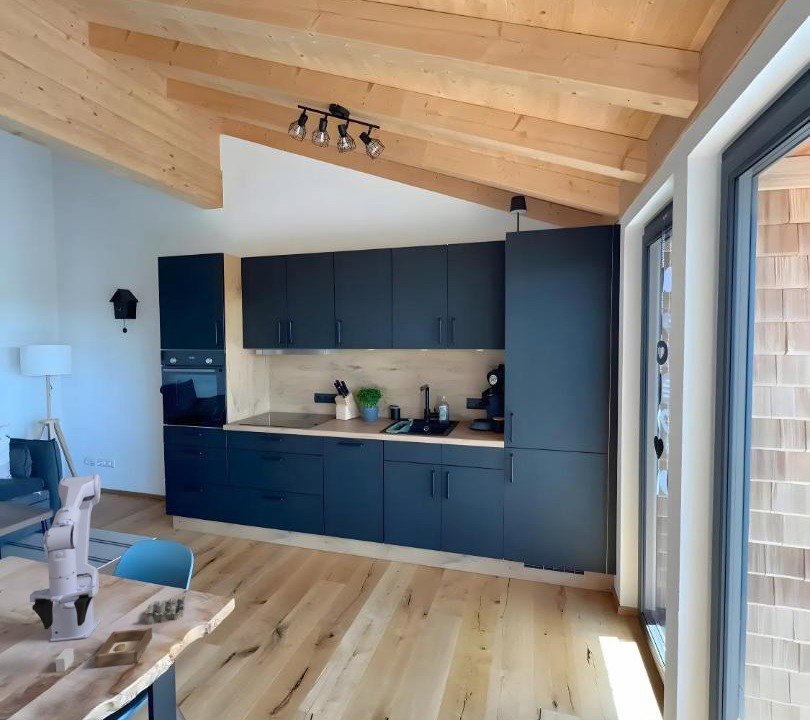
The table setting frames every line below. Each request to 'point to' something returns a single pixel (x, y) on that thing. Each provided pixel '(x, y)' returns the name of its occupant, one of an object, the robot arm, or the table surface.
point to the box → (123, 648)
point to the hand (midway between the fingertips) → (65, 625)
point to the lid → (64, 660)
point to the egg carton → (162, 606)
